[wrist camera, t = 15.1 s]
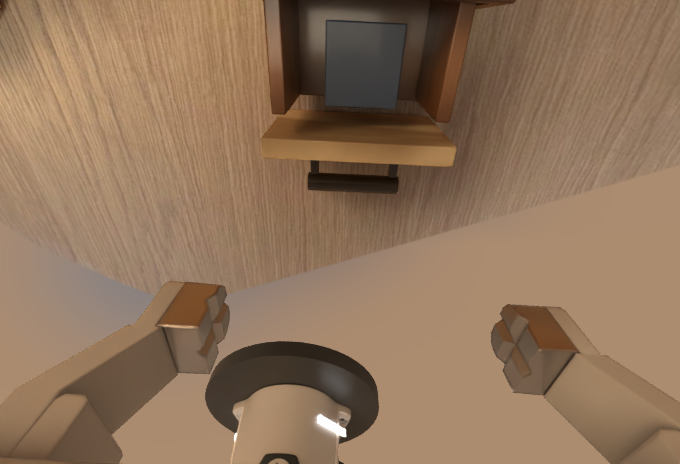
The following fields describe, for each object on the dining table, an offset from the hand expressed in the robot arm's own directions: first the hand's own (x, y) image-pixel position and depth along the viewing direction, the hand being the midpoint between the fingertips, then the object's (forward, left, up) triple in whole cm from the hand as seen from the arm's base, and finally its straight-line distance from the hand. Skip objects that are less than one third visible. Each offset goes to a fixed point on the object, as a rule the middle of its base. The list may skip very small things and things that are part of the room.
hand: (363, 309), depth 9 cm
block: (+3, 0, -16) cm, 16 cm away
